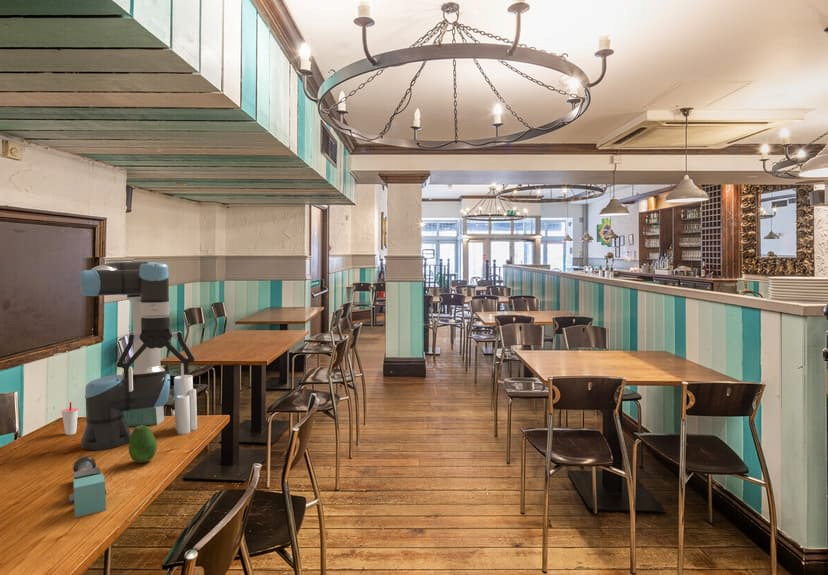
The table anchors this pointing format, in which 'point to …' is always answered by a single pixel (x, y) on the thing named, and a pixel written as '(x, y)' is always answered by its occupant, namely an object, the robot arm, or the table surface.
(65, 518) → the table surface
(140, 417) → the box
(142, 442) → the fruit
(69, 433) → the cup
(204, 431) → the table surface
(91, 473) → the guide
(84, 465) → the plunger
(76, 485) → the socket
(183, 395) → the vase
